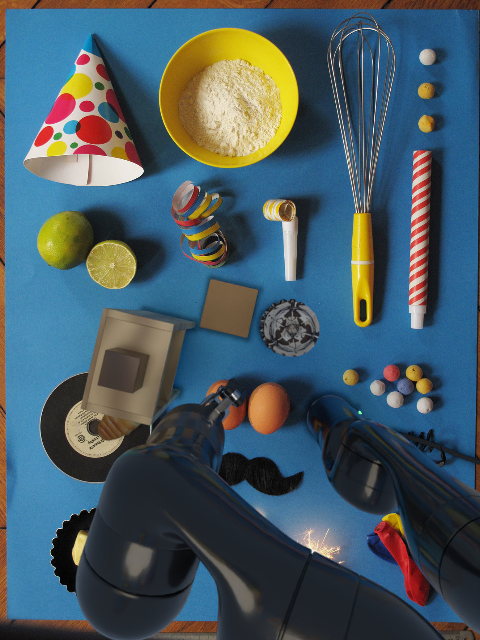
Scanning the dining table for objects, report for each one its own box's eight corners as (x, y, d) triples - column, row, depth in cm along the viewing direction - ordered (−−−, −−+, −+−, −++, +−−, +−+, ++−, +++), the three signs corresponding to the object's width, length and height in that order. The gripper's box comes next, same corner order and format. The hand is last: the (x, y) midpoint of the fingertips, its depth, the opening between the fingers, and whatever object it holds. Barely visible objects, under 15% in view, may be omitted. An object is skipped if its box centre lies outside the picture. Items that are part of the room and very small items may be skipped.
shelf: (195, 322, 86) (174, 324, 62) (178, 395, 86) (150, 425, 62) (144, 310, 86) (103, 307, 62) (127, 383, 86) (80, 408, 62)
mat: (258, 290, 85) (258, 289, 85) (247, 337, 85) (247, 337, 85) (210, 279, 85) (210, 278, 85) (199, 326, 85) (199, 326, 85)
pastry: (112, 446, 86) (106, 452, 82) (92, 421, 86) (85, 425, 82) (148, 418, 86) (143, 423, 82) (127, 392, 86) (121, 396, 82)
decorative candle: (287, 294, 85) (302, 284, 60) (311, 332, 85) (337, 338, 60) (249, 318, 85) (248, 318, 60) (273, 356, 85) (283, 373, 60)
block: (149, 354, 62) (140, 358, 57) (142, 387, 62) (132, 393, 57) (116, 347, 62) (105, 349, 57) (109, 379, 62) (97, 385, 57)
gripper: (157, 523, 42) (181, 465, 58) (263, 431, 42) (258, 398, 58) (108, 466, 42) (146, 424, 58) (214, 374, 42) (222, 358, 58)
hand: (202, 411), depth 58 cm, fingers open, 8 cm apart
